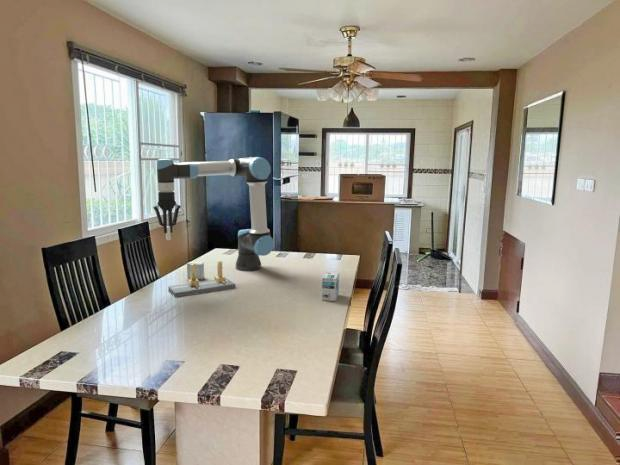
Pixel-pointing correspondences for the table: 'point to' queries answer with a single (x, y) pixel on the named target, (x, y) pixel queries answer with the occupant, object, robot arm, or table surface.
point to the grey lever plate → (204, 285)
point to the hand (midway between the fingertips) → (168, 239)
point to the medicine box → (198, 270)
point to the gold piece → (193, 276)
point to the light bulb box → (330, 286)
